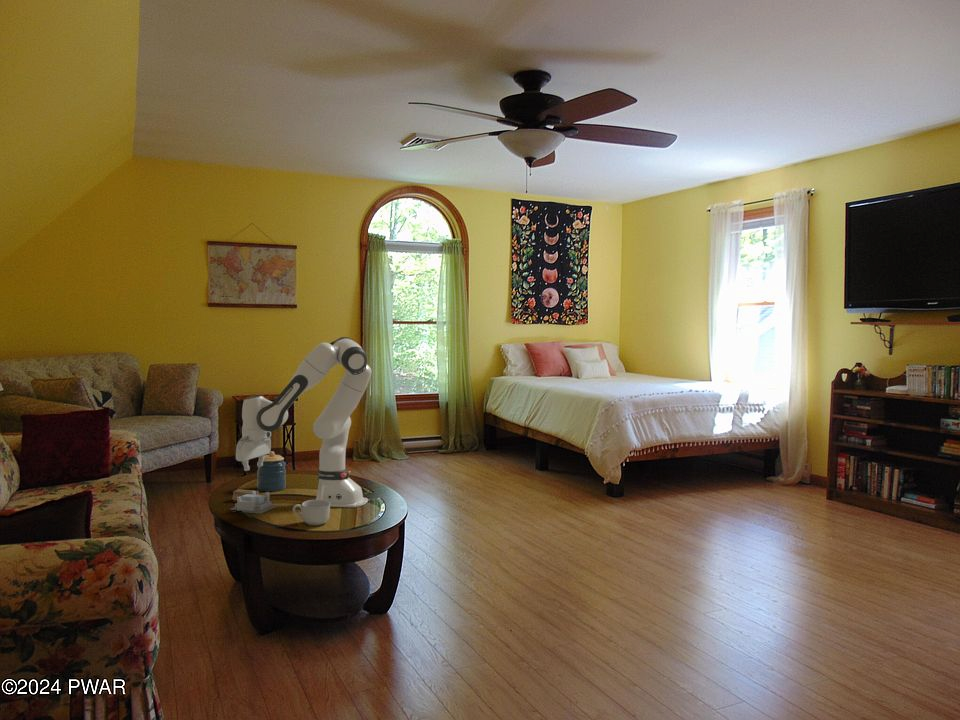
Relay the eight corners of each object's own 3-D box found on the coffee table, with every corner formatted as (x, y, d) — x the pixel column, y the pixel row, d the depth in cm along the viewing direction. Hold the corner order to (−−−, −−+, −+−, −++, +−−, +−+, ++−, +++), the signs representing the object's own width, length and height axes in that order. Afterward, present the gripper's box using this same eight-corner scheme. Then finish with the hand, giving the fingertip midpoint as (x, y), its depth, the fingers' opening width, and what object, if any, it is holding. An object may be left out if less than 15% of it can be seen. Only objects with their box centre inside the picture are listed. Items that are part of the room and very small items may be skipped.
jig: (276, 506, 279) (276, 492, 279) (260, 514, 268) (260, 499, 268) (246, 504, 283) (246, 490, 283) (229, 511, 271) (229, 496, 271)
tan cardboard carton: (238, 499, 292) (238, 489, 292) (258, 501, 289) (258, 490, 289) (233, 501, 288) (233, 491, 288) (253, 503, 285) (253, 493, 285)
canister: (252, 491, 306) (252, 453, 306) (262, 485, 319) (262, 448, 319) (280, 492, 306) (280, 454, 305) (289, 486, 319) (289, 449, 318)
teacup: (332, 519, 261) (332, 499, 261) (327, 527, 251) (327, 506, 250) (296, 519, 261) (297, 499, 261) (289, 527, 250) (290, 506, 250)
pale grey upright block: (264, 506, 276) (264, 495, 276) (258, 508, 273) (258, 497, 272) (246, 504, 278) (246, 494, 278) (241, 507, 274) (241, 496, 274)
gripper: (245, 439, 264) (245, 473, 264) (273, 432, 284) (273, 464, 284) (231, 438, 265) (231, 472, 266) (260, 431, 285) (260, 463, 286)
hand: (253, 468), depth 275 cm, fingers open, 8 cm apart
